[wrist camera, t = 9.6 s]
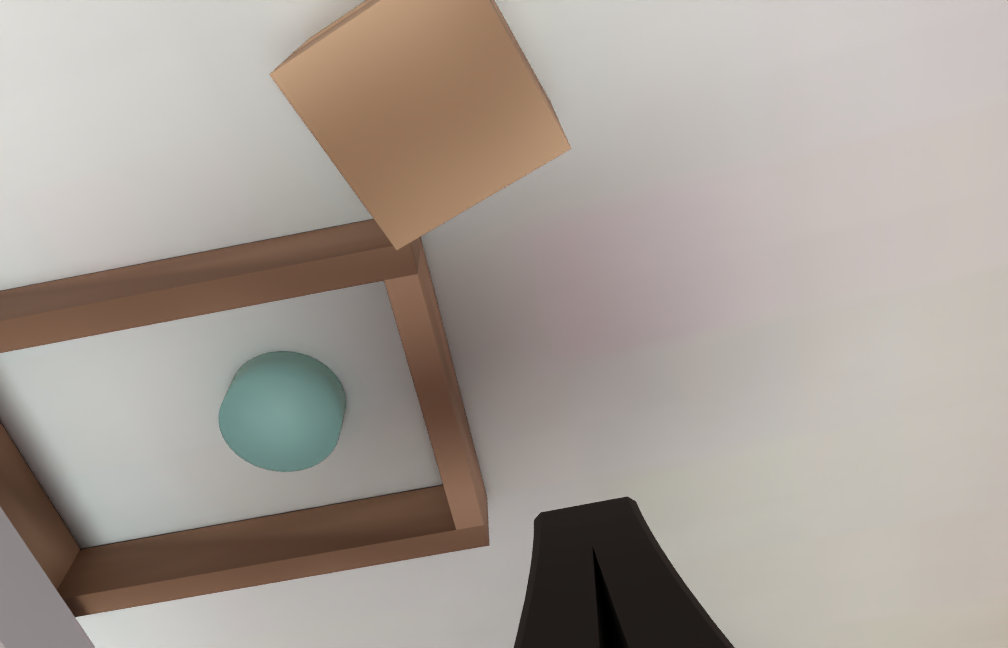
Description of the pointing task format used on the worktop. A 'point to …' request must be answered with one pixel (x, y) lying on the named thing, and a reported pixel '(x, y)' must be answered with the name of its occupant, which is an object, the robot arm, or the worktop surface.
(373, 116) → the beech block
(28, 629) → the lid
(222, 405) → the teal disc
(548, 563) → the robot arm
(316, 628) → the worktop surface
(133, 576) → the frame
